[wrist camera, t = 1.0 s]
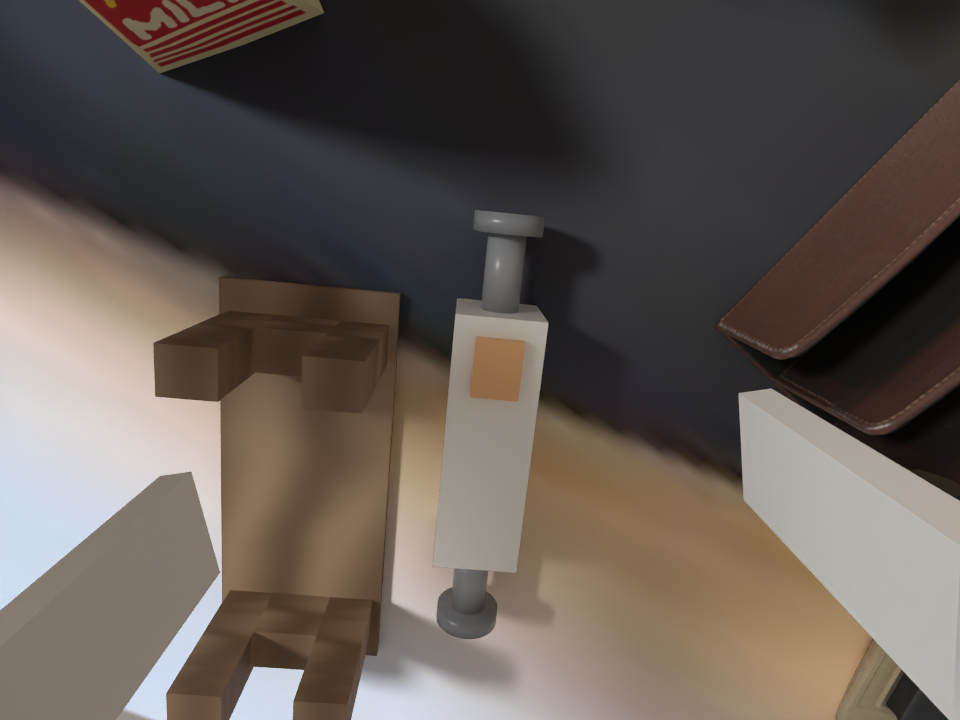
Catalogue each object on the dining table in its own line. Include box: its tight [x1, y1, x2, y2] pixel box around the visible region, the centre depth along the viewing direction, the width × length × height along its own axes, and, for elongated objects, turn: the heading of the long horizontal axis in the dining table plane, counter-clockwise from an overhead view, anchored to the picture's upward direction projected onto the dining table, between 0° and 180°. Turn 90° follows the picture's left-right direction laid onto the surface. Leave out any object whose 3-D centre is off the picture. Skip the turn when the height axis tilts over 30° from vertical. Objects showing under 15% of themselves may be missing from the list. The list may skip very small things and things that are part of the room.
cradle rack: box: [154, 277, 401, 720], centre depth 33 cm, size 10×24×9 cm, turn 174°
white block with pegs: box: [433, 210, 549, 639], centre depth 34 cm, size 5×24×6 cm, turn 174°
